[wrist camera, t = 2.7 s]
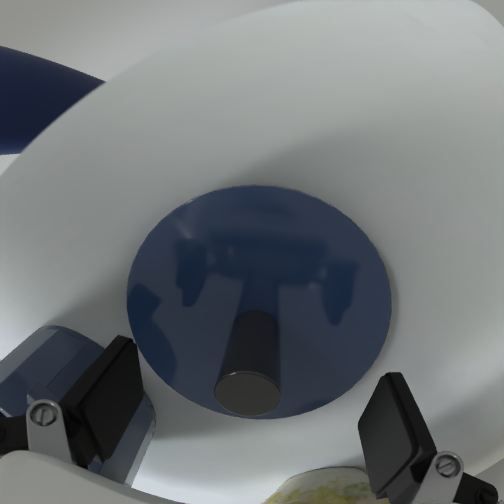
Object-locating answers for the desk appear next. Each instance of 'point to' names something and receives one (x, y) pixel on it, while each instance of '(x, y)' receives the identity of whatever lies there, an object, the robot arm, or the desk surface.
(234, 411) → the lid
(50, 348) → the pot
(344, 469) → the sugar bowl
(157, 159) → the desk surface
